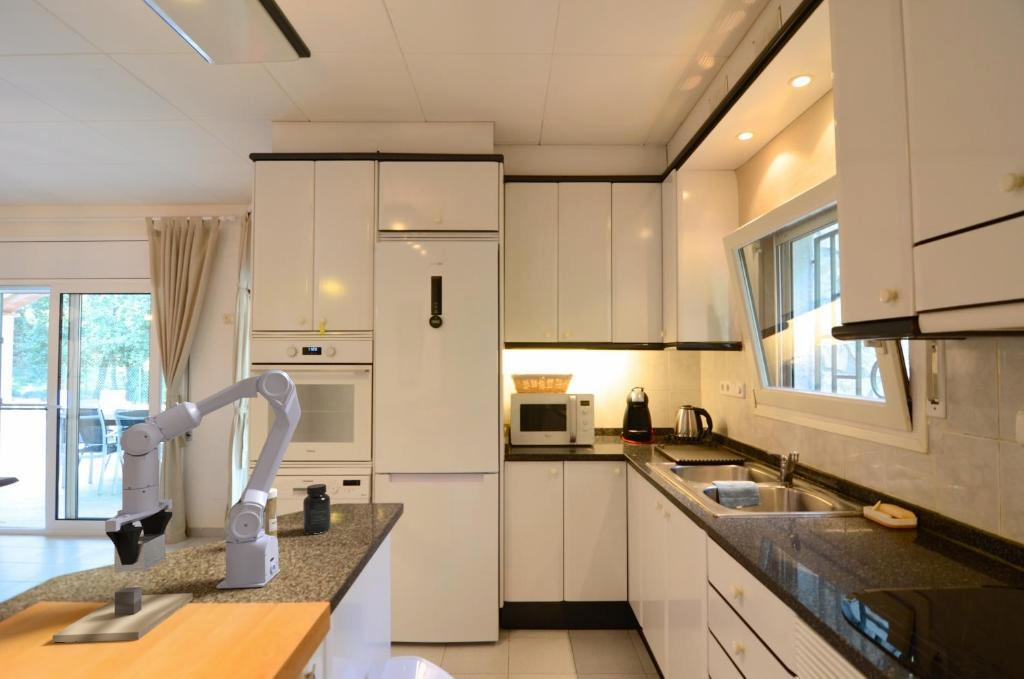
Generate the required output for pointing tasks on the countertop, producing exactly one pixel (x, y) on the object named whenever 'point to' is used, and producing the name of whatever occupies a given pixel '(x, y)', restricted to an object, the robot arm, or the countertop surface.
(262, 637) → the countertop surface
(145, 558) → the hollow square tube
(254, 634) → the countertop surface
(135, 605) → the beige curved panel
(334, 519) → the countertop surface
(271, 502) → the sprinkles bottle
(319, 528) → the supplement bottle
